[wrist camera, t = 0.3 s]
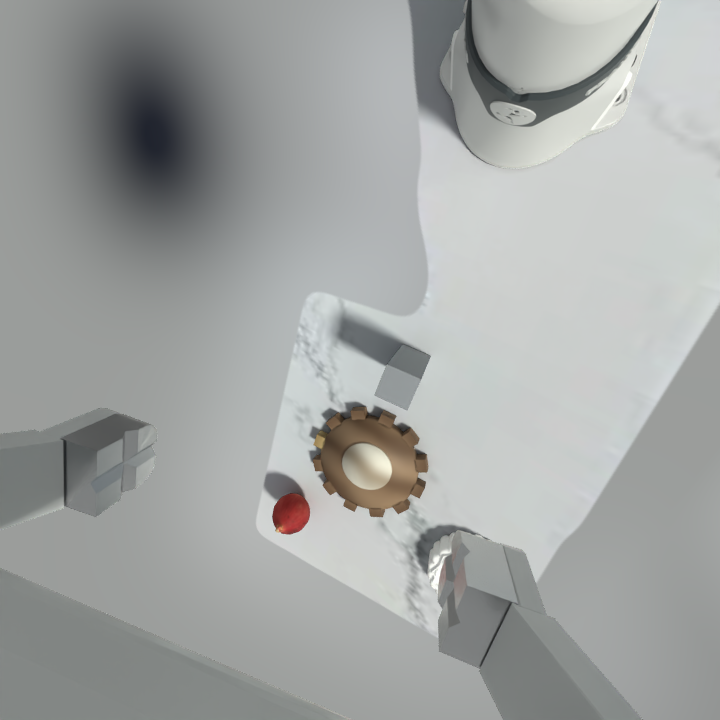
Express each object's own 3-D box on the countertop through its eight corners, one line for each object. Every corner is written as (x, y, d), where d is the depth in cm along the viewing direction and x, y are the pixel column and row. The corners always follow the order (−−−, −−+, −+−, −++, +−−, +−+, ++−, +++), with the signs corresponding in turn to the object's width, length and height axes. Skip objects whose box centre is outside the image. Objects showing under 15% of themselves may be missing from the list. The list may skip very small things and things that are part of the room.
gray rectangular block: (403, 344, 47) (386, 364, 37) (430, 355, 46) (421, 379, 37) (392, 369, 48) (374, 395, 39) (419, 381, 47) (407, 410, 38)
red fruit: (323, 507, 58) (302, 543, 51) (298, 517, 60) (274, 552, 53) (305, 479, 58) (281, 510, 50) (280, 489, 60) (254, 521, 52)
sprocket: (335, 387, 51) (331, 392, 50) (447, 439, 48) (446, 446, 47) (304, 477, 58) (299, 484, 56) (401, 529, 54) (399, 537, 53)
